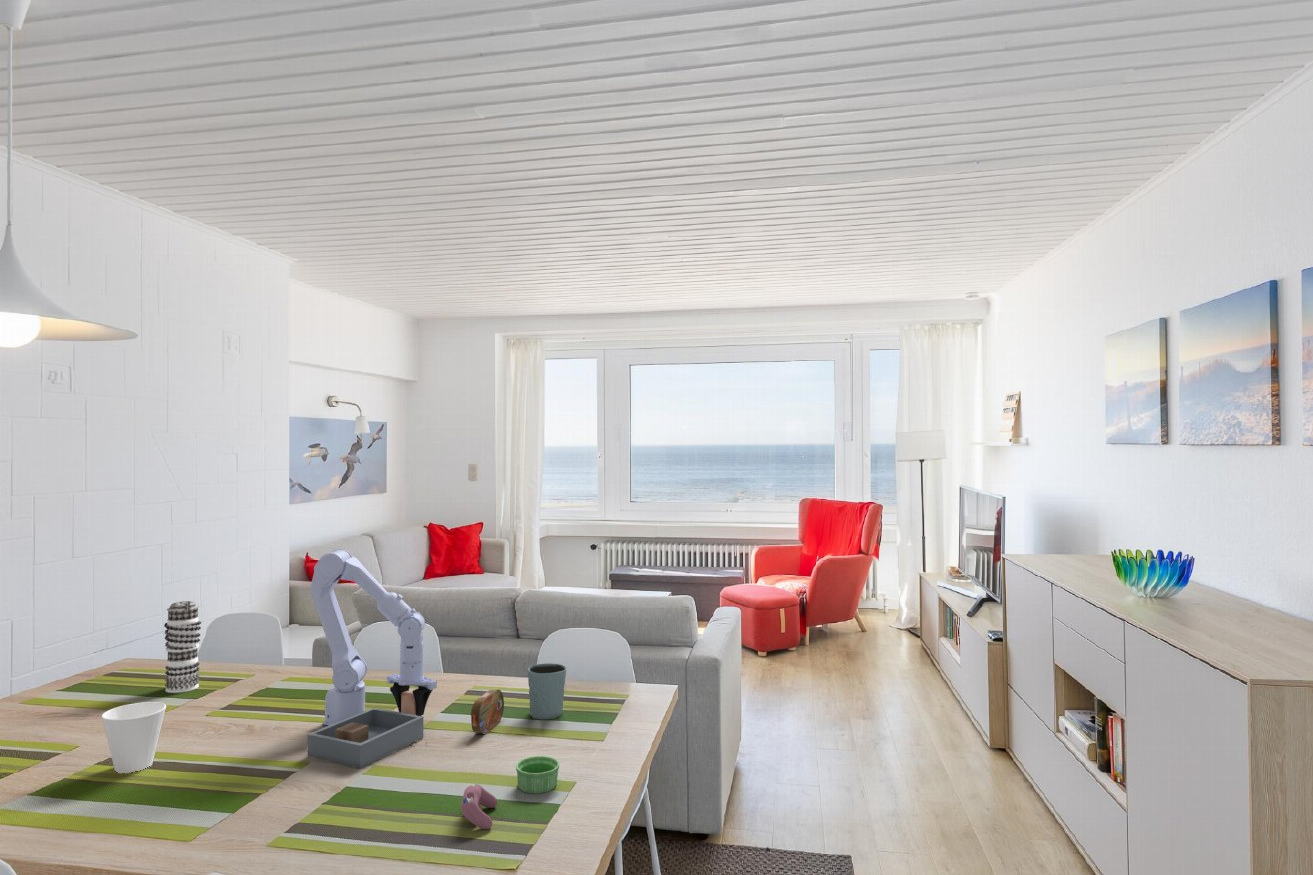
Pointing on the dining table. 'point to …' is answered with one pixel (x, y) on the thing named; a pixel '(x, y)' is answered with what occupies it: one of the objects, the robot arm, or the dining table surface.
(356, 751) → the tote
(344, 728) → the cube
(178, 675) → the decorative candle
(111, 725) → the cup
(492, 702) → the tin
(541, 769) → the ramekin
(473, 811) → the video game controller
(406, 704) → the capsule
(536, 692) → the grey plant pot
